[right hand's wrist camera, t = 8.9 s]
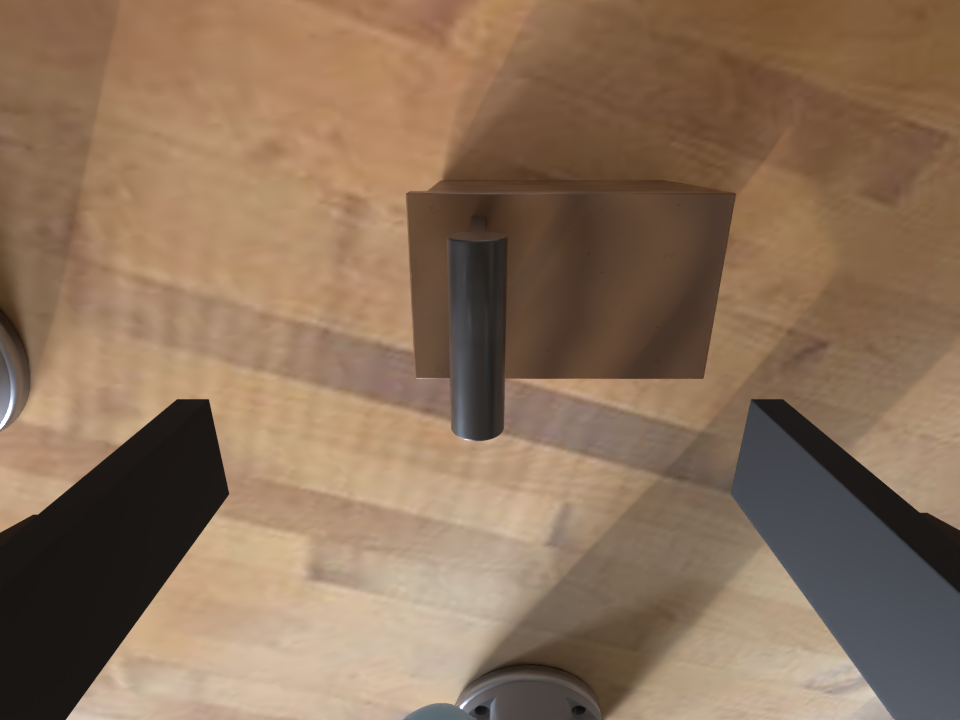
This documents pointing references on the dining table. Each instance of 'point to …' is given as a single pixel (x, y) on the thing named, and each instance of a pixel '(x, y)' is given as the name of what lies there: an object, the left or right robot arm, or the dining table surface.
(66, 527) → the right robot arm
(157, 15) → the dining table surface
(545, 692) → the left robot arm
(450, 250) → the lid
